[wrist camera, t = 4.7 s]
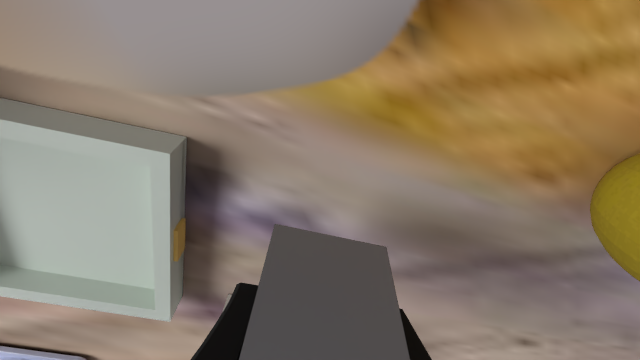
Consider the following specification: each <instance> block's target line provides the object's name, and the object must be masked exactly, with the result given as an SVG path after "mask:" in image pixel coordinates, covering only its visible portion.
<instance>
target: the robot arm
mask: <svg viewBox="0 0 640 360" xmlns="http://www.w3.org/2000/svg"><path fill="white" fill-rule="evenodd" d="M257 290H258V285H252V284H246V283H239V284H237V285H236V287H235V290H234V292H233V294H232V296H231V298H230V300H229V302H228V304H227V306H226V307H225V309H224V311H223V312H222V314H221V316H220V317H219V319H218V321H217V322H216V324H215V325H214V327H213V328H212V330H211V331H210V333H209V334H208V336H207V337H206V339H205V340H204V342H203V343H202V345H201V346H200V348H199V349H198V350H197V352H196V353H195V354H194V356H193V357H192V359H191V360H239V358H240V354H241V350H242V346H243V342H244V339H245V335H246V331H247V327H248V324H249V320H250V316H251V312H252V308H253V305H254V301H255V297H256V293H257ZM399 310H400V315H401V320H402V324H403V329H404V334H405V339H406V343H407V348H408V353H409V358H410V360H432V359H431V358H430V356H429V354H428V353H427V351H426V349H425V347H424V346H423V344H422V342H421V341H420V339H419V337H418V335H417V334H416V332H415V330H414V329H413V327H412V325H411V323H410V322H409V320H408V318H407V316H406V315H405V313H404V311H403V310H402V309H399ZM0 360H87V359H85V358H83V357H79V356H71V355H64V354H57V353H49V352H42V351H35V350H27V349H20V348H12V347H5V346H0Z"/></svg>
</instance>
